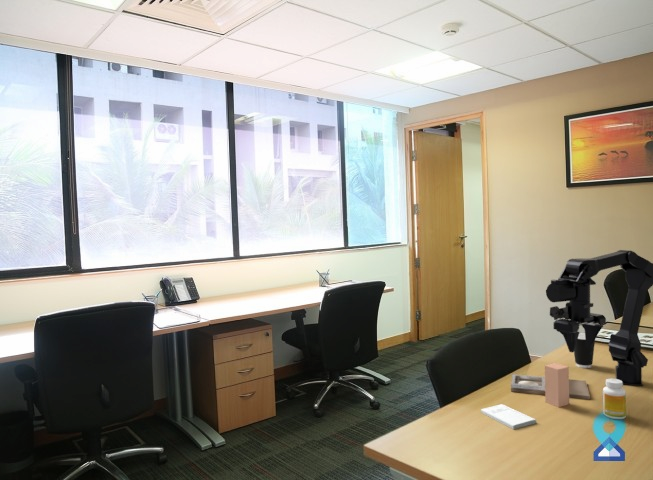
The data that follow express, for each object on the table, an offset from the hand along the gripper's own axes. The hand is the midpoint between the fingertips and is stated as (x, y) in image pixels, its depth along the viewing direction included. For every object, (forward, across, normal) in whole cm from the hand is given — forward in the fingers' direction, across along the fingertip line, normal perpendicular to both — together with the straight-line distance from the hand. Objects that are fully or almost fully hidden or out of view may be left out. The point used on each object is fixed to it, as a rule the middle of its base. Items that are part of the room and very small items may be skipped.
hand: (580, 349), depth 150 cm
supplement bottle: (+13, +10, +16) cm, 23 cm away
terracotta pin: (+13, +14, +1) cm, 19 cm away
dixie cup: (+13, -24, -13) cm, 30 cm away
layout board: (+13, +5, -8) cm, 16 cm away
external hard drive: (+14, +34, 0) cm, 36 cm away
